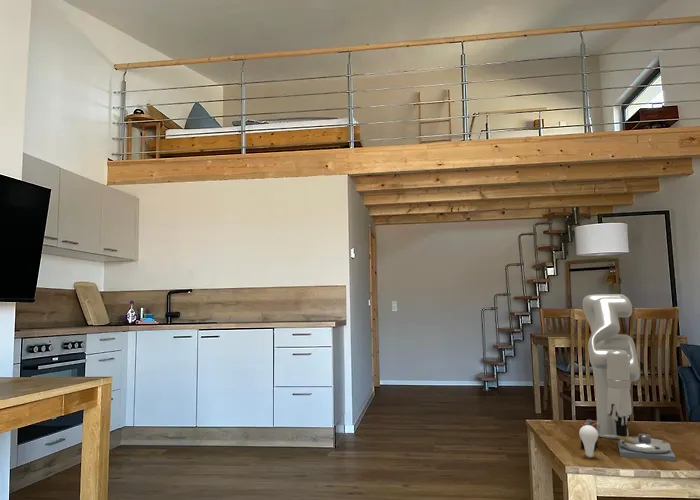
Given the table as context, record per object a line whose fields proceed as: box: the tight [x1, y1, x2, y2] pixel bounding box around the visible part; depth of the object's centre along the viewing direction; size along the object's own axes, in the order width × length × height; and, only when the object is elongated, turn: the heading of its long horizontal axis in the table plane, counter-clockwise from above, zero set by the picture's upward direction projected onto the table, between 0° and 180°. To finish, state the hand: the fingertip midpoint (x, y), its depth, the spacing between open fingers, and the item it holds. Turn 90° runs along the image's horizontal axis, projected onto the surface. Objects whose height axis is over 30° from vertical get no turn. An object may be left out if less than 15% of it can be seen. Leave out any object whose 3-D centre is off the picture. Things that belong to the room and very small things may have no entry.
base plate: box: [617, 440, 677, 462], centre depth 198 cm, size 17×17×2 cm
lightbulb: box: [578, 425, 599, 459], centre depth 192 cm, size 6×6×11 cm
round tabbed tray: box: [619, 428, 672, 453], centre depth 198 cm, size 16×16×6 cm
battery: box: [579, 419, 599, 451], centre depth 204 cm, size 4×7×10 cm, turn 142°
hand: (621, 435), depth 200 cm, fingers closed
